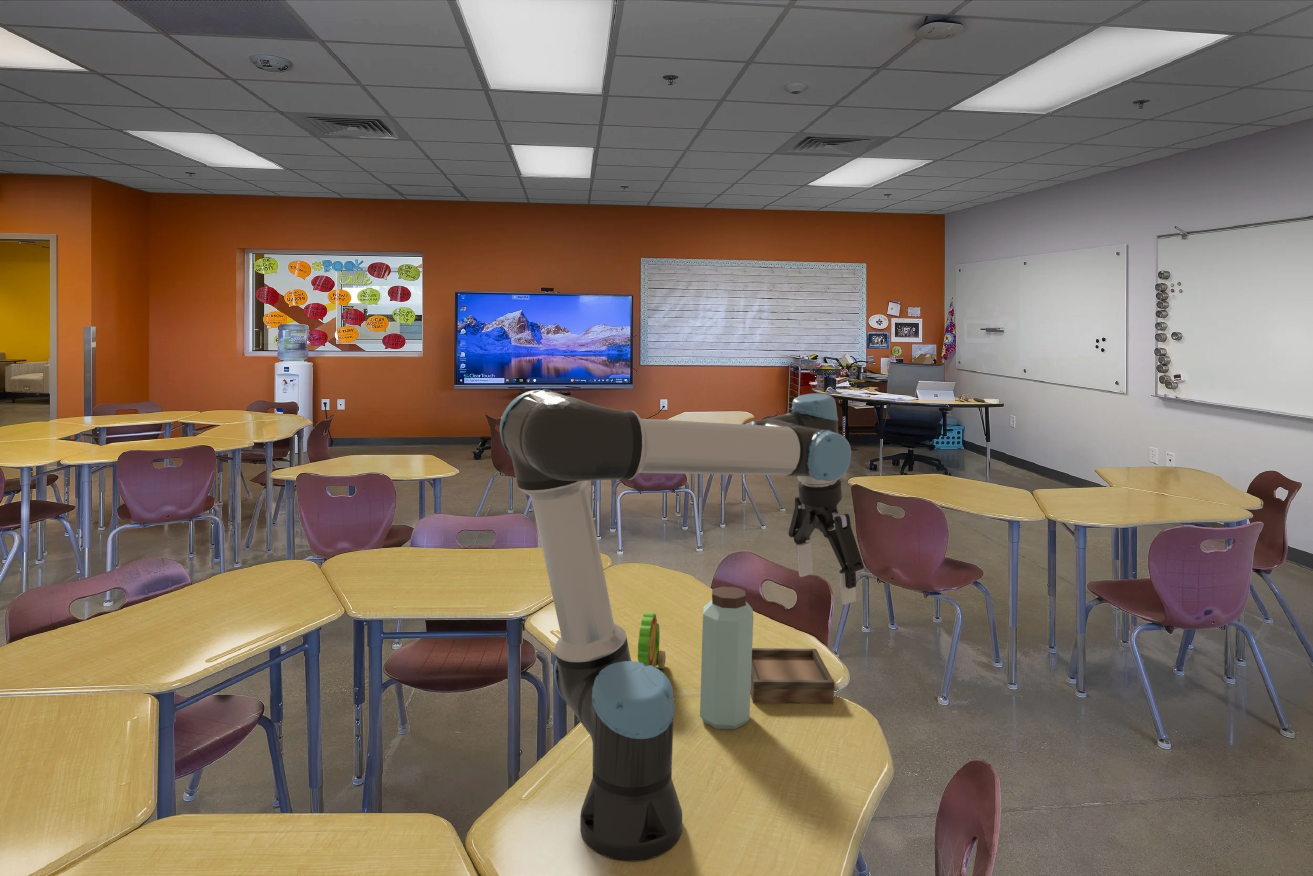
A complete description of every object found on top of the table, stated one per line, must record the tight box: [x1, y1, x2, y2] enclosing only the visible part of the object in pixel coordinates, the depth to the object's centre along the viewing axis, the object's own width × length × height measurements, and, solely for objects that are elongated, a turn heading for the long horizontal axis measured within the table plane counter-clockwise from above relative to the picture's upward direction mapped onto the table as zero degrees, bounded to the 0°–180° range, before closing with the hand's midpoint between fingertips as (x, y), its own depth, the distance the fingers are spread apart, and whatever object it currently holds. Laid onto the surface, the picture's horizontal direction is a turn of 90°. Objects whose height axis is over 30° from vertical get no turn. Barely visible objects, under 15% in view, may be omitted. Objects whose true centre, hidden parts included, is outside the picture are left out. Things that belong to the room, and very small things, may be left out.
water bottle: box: [699, 586, 754, 730], centre depth 145 cm, size 10×10×25 cm
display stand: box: [750, 647, 835, 705], centre depth 161 cm, size 16×16×4 cm
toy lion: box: [637, 611, 667, 669], centre depth 161 cm, size 16×5×15 cm, turn 171°
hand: (826, 588), depth 143 cm, fingers open, 13 cm apart
